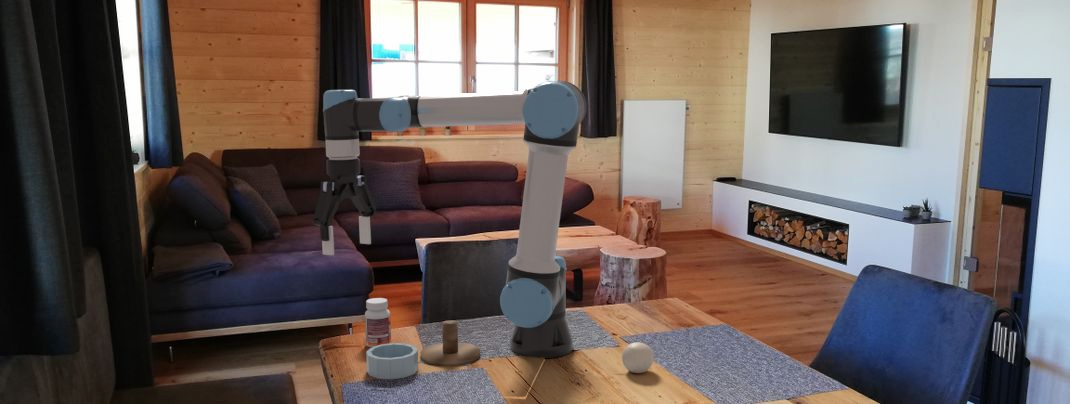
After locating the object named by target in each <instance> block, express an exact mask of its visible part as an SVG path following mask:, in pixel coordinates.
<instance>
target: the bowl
mask: <svg viewBox="0 0 1070 404" xmlns="http://www.w3.org/2000/svg"><path fill="white" fill-rule="evenodd" d="M365 352H366V353H365V354H366V356H365V357H366V372H367V374H368V376H370V377H373V378H375V379H379V380H397V379H398V380H399V379H405V378H408V377H411V376H414V375H415V374H416V373H417V372H418V371H419V363H418V362H419V350H418V348H417V346H415V345H413V344H409V343H404V342H403V343H401V342H399V343H397V342H391V343H390V344H381V345H378V346H375V347H369V349H367V351H365Z"/></svg>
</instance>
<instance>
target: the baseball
mask: <svg viewBox="0 0 1070 404" xmlns="http://www.w3.org/2000/svg"><path fill="white" fill-rule="evenodd" d="M621 359H622V360H621V361H622V363H623V365H624V367H625V369H627V371H629V372H631V373H634V374H643V373H646V372H648V370H650V369H651V367H652V366H653V362H654V352H653V350H652V348H651V347H650V346H649V345H647V344H646V343H643V342H638V341H637V342H631V343H629V344H628V345H626V346H625V348H624V349H623V351H622V355H621Z"/></svg>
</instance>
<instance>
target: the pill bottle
mask: <svg viewBox="0 0 1070 404" xmlns="http://www.w3.org/2000/svg"><path fill="white" fill-rule="evenodd" d="M388 303H389V302H388V298H384V297H375V298H374V297H372V298H368V299H367V300H366V301H365V305H366V306H365V308H366V309H367V310H366V311H365V313H364V326H365V327H364V329H365V330H364V331H365V334H364V336H365V345H366V347H369V348H371V347H375V346H378V345H381V344H390V343H392V328H391V327H392V326H391V312H390V310H389V309H387V308H388V307H389V304H388Z"/></svg>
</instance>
